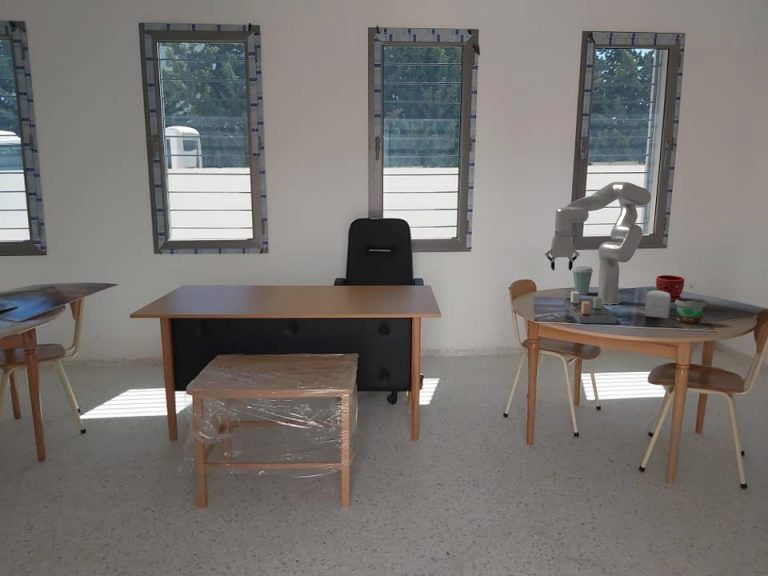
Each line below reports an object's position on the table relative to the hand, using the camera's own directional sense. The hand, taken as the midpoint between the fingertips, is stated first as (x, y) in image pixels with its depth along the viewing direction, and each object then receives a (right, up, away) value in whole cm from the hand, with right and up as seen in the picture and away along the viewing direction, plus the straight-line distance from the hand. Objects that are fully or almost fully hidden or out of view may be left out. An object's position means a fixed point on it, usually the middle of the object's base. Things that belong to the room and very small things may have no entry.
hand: (561, 269), depth 280 cm
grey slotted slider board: (+10, -22, -8) cm, 25 cm away
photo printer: (+40, -23, -15) cm, 48 cm away
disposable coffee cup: (+23, -12, +38) cm, 46 cm away
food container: (+49, -25, -27) cm, 61 cm away
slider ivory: (+7, -16, +3) cm, 18 cm away
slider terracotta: (+5, -21, -19) cm, 29 cm away
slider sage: (+14, -19, -9) cm, 25 cm away
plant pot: (+62, -15, +19) cm, 67 cm away
